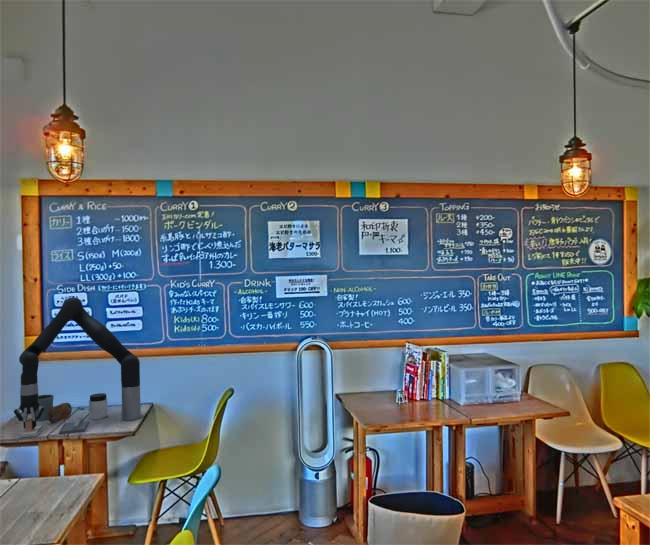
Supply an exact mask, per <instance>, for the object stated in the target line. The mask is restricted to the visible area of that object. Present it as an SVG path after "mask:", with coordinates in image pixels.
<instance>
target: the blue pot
mask: <svg viewBox="0 0 650 545" xmlns="http://www.w3.org/2000/svg"><path fill="white" fill-rule="evenodd" d="M38 402H39V404H40V406H42V407H43V406H45V409H44V411H43V413H42V415H41V417H40V418H39V419H37V420H36V422H45V420H46V421H49V420H48V411H49V409H50V408H52V407H54V394H40V395H39V394H38ZM39 412H40V411H39V408H38V409H37V411H36V417H37V416H38V414H39Z"/></svg>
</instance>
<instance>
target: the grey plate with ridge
mask: <svg viewBox="0 0 650 545" xmlns="http://www.w3.org/2000/svg"><path fill="white" fill-rule="evenodd" d="M89 422H90V421H89V420H83V417H82V416H81V417H77V418H76V420H75V422H73V421H72V422H65V423H63V425H62V427H61V428H60V429H59V431H58V432H59V433H58V435H65V434H66V435H67V434H68V435H69V434H75V433H77V434H78V433H85V432H86V429H87V427H88V426H89Z"/></svg>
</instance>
